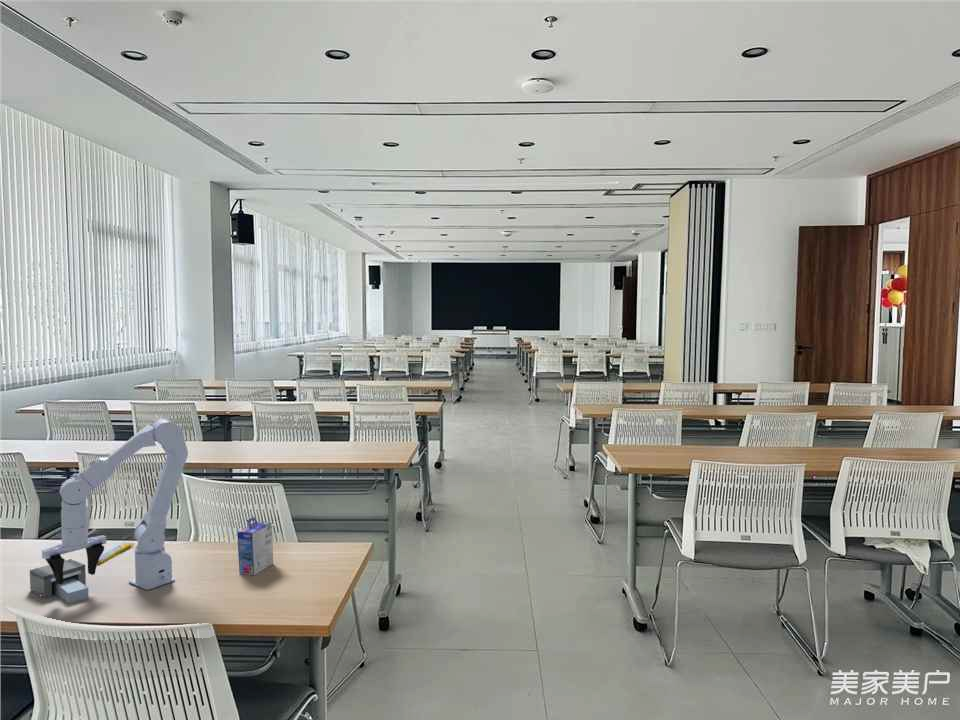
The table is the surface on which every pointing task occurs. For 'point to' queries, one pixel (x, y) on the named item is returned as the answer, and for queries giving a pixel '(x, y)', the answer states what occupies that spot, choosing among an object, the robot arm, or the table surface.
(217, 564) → the table surface
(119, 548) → the candy bar
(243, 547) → the ink cartridge box
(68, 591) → the pale blue rectangular block
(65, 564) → the gray block
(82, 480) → the robot arm
